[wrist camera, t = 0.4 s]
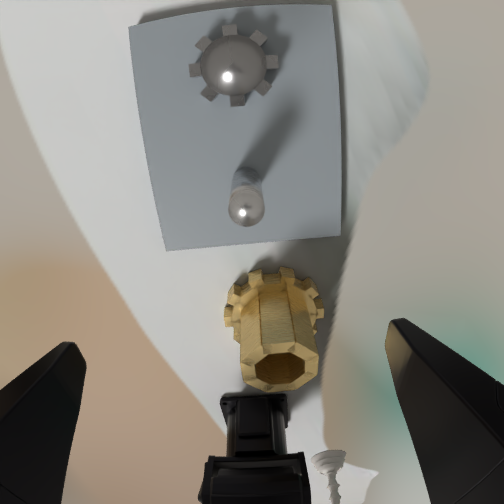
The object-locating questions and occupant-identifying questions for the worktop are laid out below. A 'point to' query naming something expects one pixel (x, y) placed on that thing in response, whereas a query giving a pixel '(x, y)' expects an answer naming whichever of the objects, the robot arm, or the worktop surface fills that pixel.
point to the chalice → (330, 469)
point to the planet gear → (275, 329)
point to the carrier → (241, 123)
